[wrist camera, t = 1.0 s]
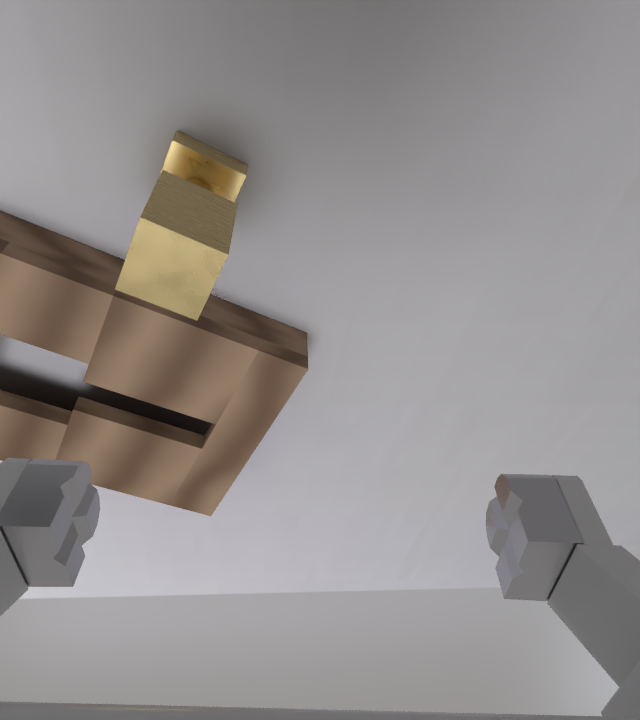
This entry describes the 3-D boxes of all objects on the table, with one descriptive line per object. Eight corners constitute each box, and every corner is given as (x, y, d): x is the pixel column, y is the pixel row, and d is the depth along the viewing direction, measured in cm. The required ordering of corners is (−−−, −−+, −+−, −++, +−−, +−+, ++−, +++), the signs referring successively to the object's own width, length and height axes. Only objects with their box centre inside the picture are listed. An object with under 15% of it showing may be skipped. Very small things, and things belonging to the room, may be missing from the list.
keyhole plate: (-47, 401, 49) (-73, 440, 45) (-13, 205, 38) (-44, 237, 34) (215, 477, 57) (210, 516, 53) (306, 333, 46) (308, 369, 42)
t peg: (153, 196, 38) (109, 290, 29) (177, 130, 35) (137, 211, 26) (220, 226, 40) (199, 324, 30) (248, 165, 37) (233, 253, 28)
